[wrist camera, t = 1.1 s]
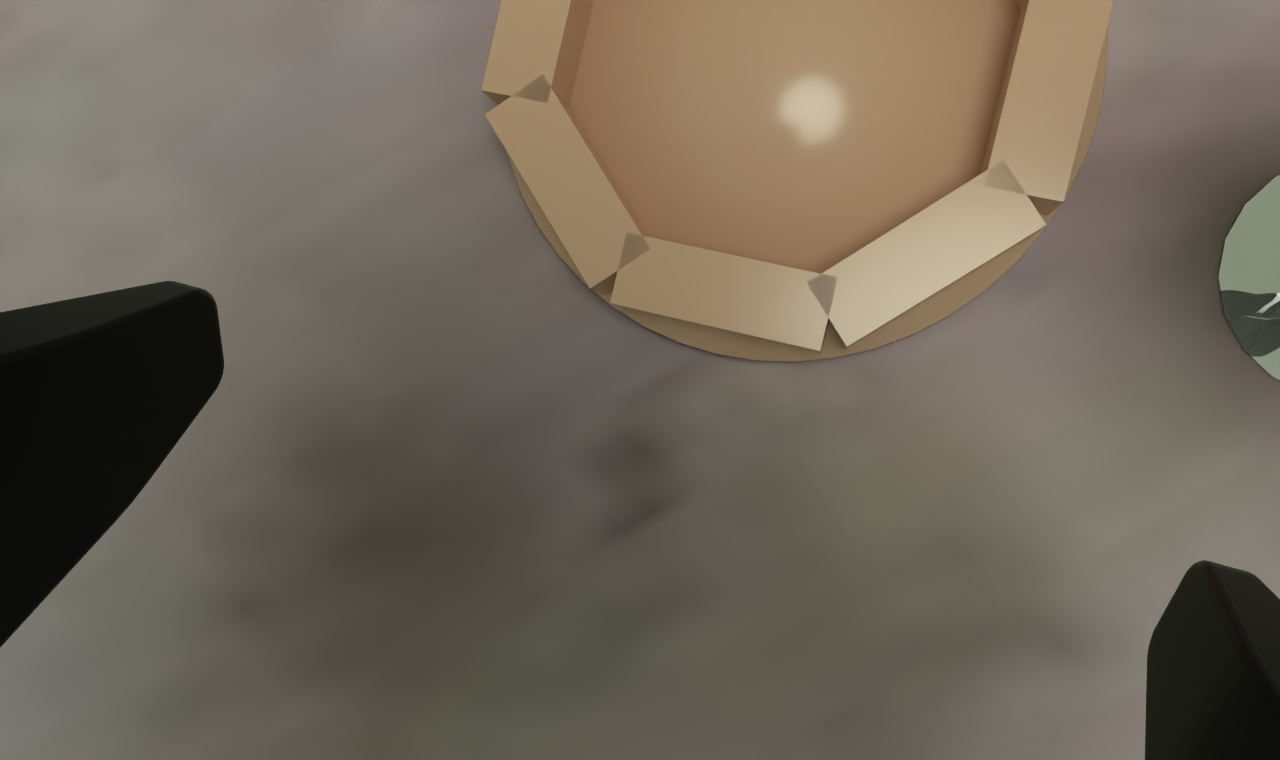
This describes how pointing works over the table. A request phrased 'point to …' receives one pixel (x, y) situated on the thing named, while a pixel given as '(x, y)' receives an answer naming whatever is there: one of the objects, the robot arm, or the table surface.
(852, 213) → the coaster
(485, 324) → the table surface
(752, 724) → the table surface
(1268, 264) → the wineglass
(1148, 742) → the robot arm
